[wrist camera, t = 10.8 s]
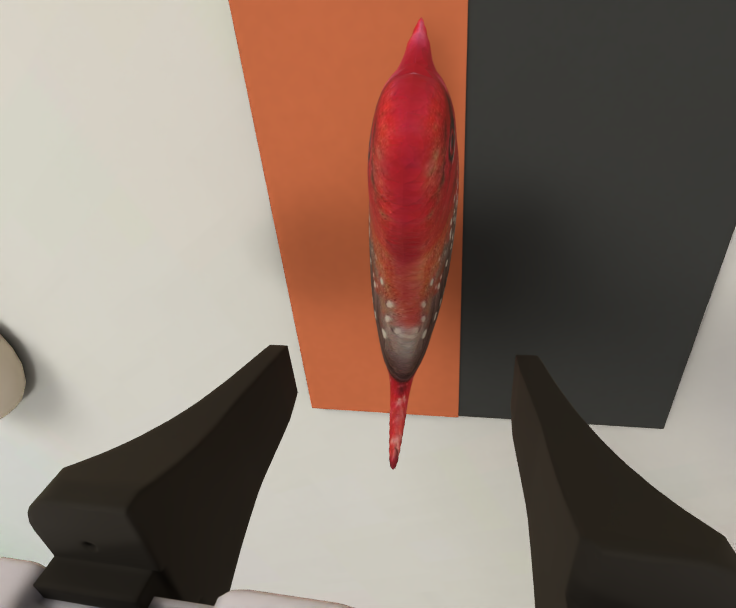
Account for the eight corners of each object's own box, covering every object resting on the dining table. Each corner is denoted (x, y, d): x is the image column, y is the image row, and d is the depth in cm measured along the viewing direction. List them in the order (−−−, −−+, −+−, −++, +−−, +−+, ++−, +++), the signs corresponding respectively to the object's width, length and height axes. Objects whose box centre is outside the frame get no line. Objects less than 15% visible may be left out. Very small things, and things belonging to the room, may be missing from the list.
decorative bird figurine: (477, 16, 16) (493, 19, 8) (431, 384, 26) (417, 558, 18) (397, 14, 17) (334, 16, 9) (381, 377, 26) (344, 545, 18)
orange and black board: (839, -94, 14) (854, -99, 13) (660, 422, 25) (664, 430, 25) (231, -18, 18) (224, -19, 17) (314, 401, 29) (312, 407, 29)
